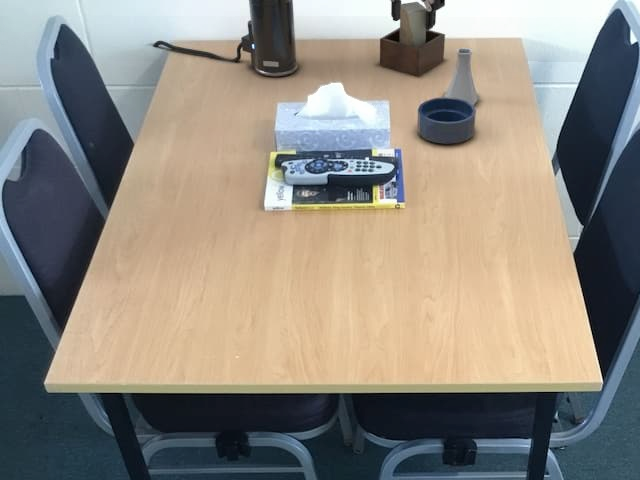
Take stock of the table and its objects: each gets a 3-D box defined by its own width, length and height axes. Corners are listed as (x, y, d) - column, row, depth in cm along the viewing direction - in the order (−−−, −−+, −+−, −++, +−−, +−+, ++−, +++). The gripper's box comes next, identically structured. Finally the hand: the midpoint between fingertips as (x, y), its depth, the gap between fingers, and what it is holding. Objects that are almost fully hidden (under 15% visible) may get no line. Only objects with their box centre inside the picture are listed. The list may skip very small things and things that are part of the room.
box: (398, 56, 194) (399, 3, 186) (415, 53, 195) (417, 0, 187) (408, 65, 191) (409, 11, 182) (425, 62, 192) (427, 8, 184)
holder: (379, 65, 192) (379, 38, 188) (405, 49, 198) (406, 23, 194) (418, 76, 188) (419, 49, 184) (443, 60, 194) (445, 34, 190)
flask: (478, 93, 183) (482, 44, 175) (477, 109, 178) (482, 58, 171) (444, 92, 183) (447, 42, 176) (442, 107, 179) (445, 57, 171)
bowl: (406, 135, 170) (407, 113, 167) (436, 114, 176) (438, 92, 173) (454, 151, 166) (456, 128, 163) (484, 129, 172) (486, 106, 169)
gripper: (455, -60, 174) (449, 26, 186) (397, -73, 180) (395, 11, 192) (435, -50, 170) (431, 37, 182) (376, -63, 176) (376, 22, 188)
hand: (412, 24), depth 187 cm, fingers open, 8 cm apart
